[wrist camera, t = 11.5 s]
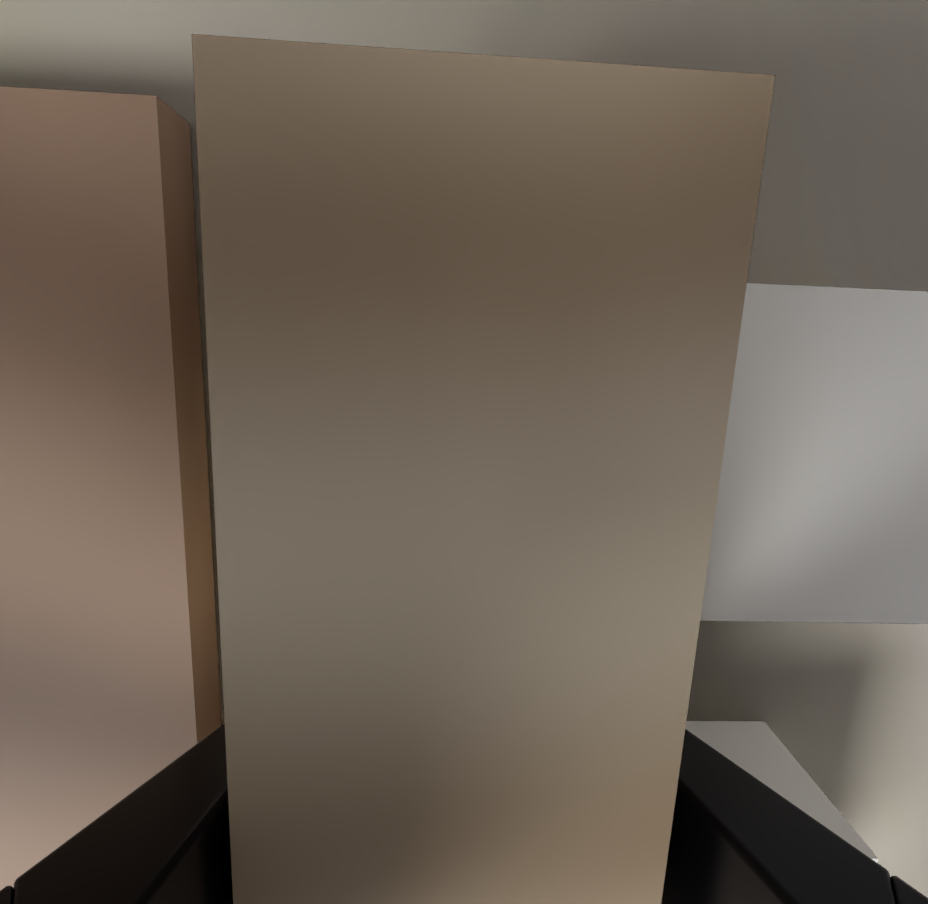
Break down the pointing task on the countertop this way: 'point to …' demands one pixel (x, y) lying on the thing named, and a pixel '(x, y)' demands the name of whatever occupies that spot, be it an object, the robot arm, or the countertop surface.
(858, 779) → the countertop surface
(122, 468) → the walnut board
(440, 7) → the countertop surface
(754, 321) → the white square block
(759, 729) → the plain white cube
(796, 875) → the robot arm
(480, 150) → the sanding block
